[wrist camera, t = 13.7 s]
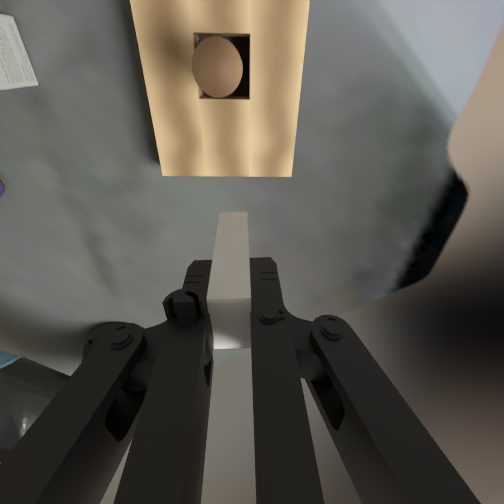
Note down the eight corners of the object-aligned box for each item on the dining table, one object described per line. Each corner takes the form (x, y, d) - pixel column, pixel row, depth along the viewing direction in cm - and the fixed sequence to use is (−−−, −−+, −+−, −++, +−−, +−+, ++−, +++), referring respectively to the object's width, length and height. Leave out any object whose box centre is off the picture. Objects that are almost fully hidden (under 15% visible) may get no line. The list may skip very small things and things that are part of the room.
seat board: (169, 166, 35) (162, 175, 32) (137, -25, 25) (123, -37, 22) (287, 167, 35) (291, 176, 33) (305, -20, 25) (312, -31, 22)
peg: (208, 89, 30) (194, 97, 22) (205, 44, 28) (188, 35, 20) (243, 89, 30) (242, 97, 22) (242, 45, 28) (241, 36, 20)
